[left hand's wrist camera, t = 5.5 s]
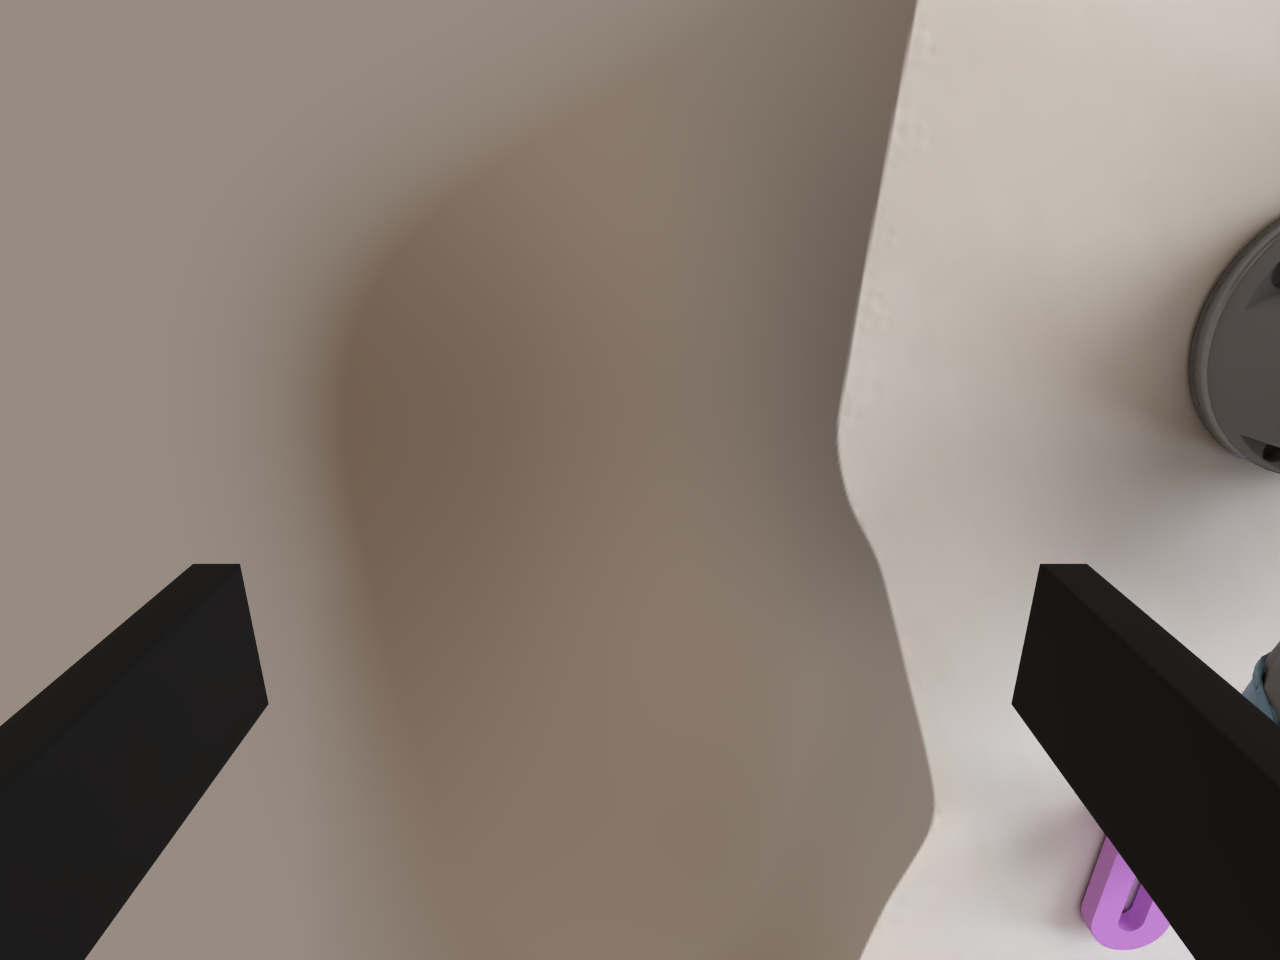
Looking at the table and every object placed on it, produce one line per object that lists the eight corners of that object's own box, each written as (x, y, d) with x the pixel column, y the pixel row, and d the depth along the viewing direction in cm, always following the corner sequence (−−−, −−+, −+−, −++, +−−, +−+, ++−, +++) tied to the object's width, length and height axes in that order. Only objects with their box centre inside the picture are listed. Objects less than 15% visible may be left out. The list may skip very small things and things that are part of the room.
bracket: (1122, 791, 52) (1190, 877, 46) (1202, 795, 53) (1282, 881, 46) (1072, 930, 57) (1128, 1026, 51) (1146, 934, 57) (1211, 1030, 51)
